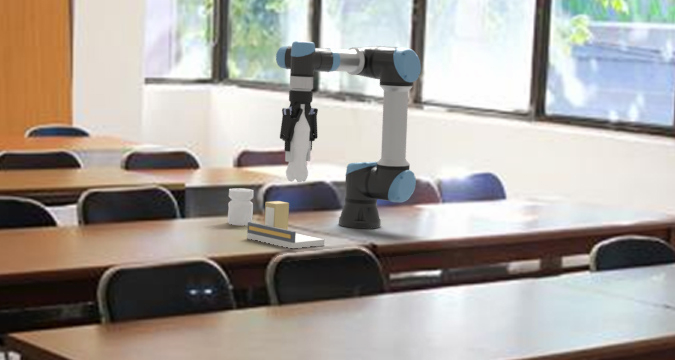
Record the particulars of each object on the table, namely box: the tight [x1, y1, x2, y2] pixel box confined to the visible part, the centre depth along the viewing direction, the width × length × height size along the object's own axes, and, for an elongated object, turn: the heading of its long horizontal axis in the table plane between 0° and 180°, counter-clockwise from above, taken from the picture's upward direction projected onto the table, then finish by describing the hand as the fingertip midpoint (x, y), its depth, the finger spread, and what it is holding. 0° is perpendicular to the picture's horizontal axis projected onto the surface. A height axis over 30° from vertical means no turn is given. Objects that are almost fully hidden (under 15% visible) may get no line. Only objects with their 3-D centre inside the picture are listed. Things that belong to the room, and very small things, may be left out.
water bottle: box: [285, 104, 310, 183], centre depth 414 cm, size 7×7×25 cm
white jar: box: [227, 187, 255, 227], centre depth 454 cm, size 9×9×12 cm
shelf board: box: [246, 221, 325, 249], centre depth 420 cm, size 14×22×6 cm, turn 45°
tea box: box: [263, 200, 290, 230], centre depth 426 cm, size 6×5×10 cm
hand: (297, 161), depth 414 cm, fingers closed on water bottle, 7 cm apart
